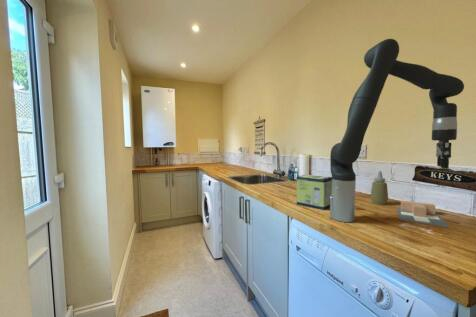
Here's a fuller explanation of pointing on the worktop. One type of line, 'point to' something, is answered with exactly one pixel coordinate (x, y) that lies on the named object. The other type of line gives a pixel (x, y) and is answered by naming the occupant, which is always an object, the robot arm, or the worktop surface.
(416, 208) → the T-block
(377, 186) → the squeeze bottle
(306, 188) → the protein box
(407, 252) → the worktop surface
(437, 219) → the mat
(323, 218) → the worktop surface
